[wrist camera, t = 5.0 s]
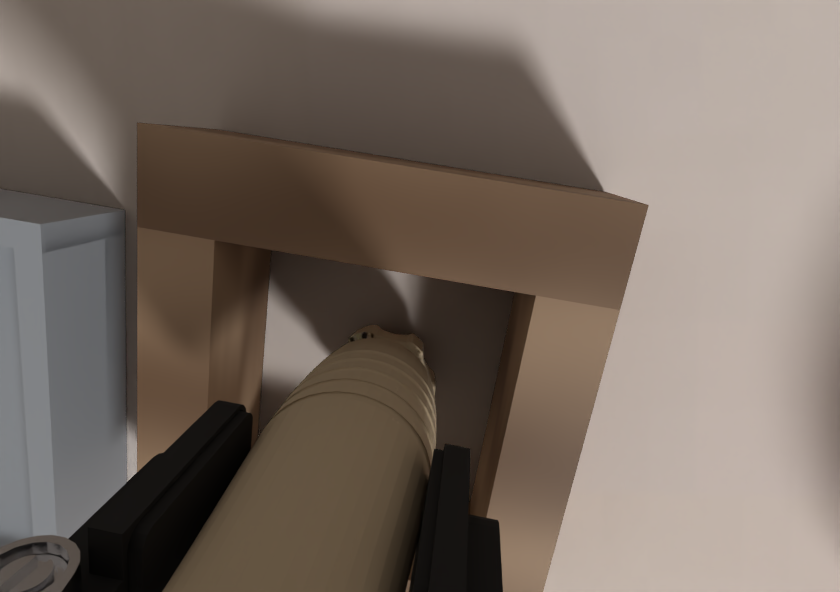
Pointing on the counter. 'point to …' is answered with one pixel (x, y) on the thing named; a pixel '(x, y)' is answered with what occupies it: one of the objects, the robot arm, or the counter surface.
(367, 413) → the handle
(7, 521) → the tray
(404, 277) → the counter surface
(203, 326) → the holder
